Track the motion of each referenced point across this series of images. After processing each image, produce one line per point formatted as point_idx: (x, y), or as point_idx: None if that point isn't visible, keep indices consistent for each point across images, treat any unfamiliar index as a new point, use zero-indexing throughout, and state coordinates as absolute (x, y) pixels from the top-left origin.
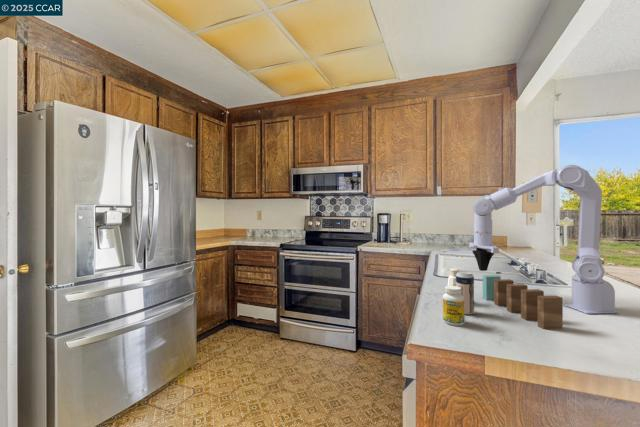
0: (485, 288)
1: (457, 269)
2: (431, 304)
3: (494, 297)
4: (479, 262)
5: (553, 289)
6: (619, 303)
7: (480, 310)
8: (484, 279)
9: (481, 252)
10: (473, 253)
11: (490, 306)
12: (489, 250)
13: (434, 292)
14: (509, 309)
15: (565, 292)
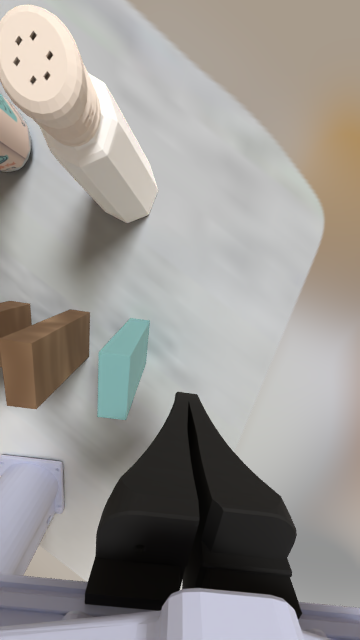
0: (124, 331)
1: (13, 80)
2: (112, 51)
3: (76, 317)
4: (181, 422)
5: None
6: (71, 551)
7: (31, 220)
8: (120, 346)
9: (104, 514)
10: (263, 484)
11: (69, 284)
12: (11, 604)
13: (264, 188)
14: (11, 303)
15: None
